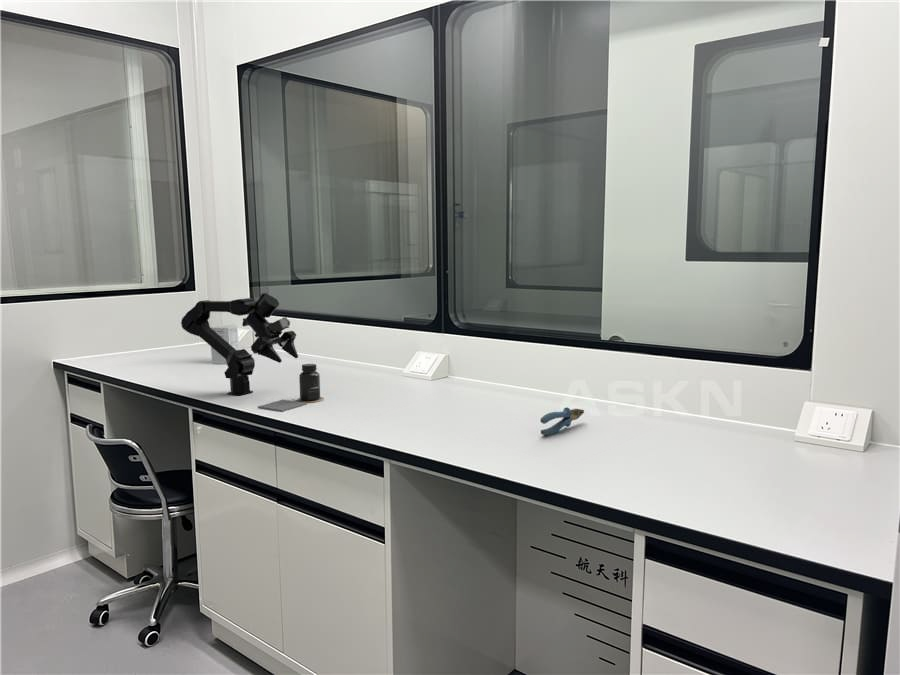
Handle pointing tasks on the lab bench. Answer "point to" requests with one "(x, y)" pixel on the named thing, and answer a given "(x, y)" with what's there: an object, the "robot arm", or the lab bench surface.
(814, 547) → the lab bench surface
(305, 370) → the supplement bottle
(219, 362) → the supplement box
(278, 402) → the charcoal mat
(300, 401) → the walnut coaster
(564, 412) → the pliers
